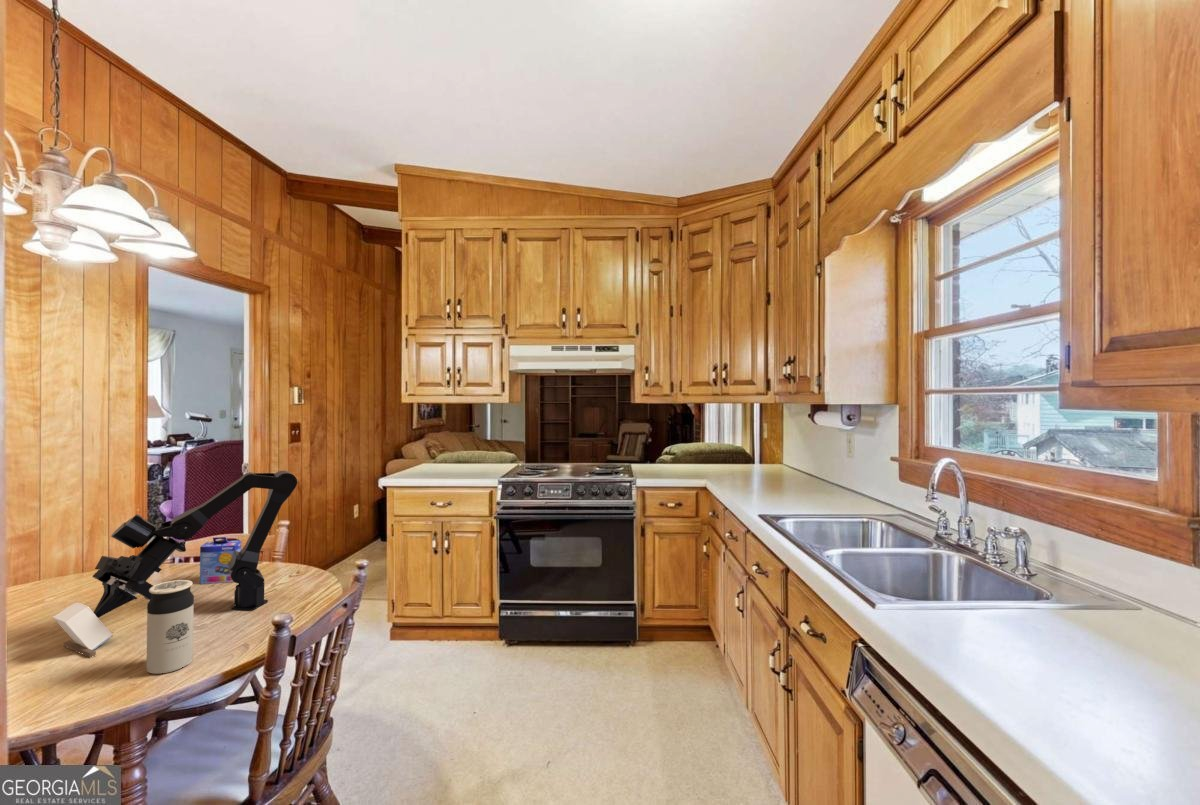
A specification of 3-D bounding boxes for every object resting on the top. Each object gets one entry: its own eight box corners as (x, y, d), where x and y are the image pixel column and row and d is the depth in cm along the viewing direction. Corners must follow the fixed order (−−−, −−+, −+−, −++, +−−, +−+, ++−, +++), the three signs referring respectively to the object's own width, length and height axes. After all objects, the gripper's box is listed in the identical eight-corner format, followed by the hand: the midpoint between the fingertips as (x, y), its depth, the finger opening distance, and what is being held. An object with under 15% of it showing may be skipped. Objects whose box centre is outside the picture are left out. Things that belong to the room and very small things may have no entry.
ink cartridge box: (198, 585, 162) (199, 539, 162) (205, 578, 167) (206, 534, 167) (235, 582, 165) (235, 537, 165) (241, 576, 170) (242, 532, 170)
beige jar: (145, 664, 115) (146, 584, 115) (190, 652, 121) (191, 576, 121) (147, 679, 110) (149, 595, 109) (195, 666, 115) (196, 586, 115)
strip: (69, 644, 123) (69, 640, 123) (95, 656, 118) (95, 651, 118) (63, 646, 122) (63, 642, 122) (90, 657, 118) (90, 653, 118)
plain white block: (100, 630, 126) (75, 601, 122) (113, 635, 124) (88, 606, 119) (79, 646, 122) (52, 617, 118) (91, 651, 120) (64, 622, 116)
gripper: (103, 536, 131) (42, 594, 121) (145, 547, 124) (83, 610, 114) (140, 559, 138) (85, 615, 128) (181, 570, 131) (126, 631, 121)
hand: (93, 617), depth 123 cm, fingers closed
